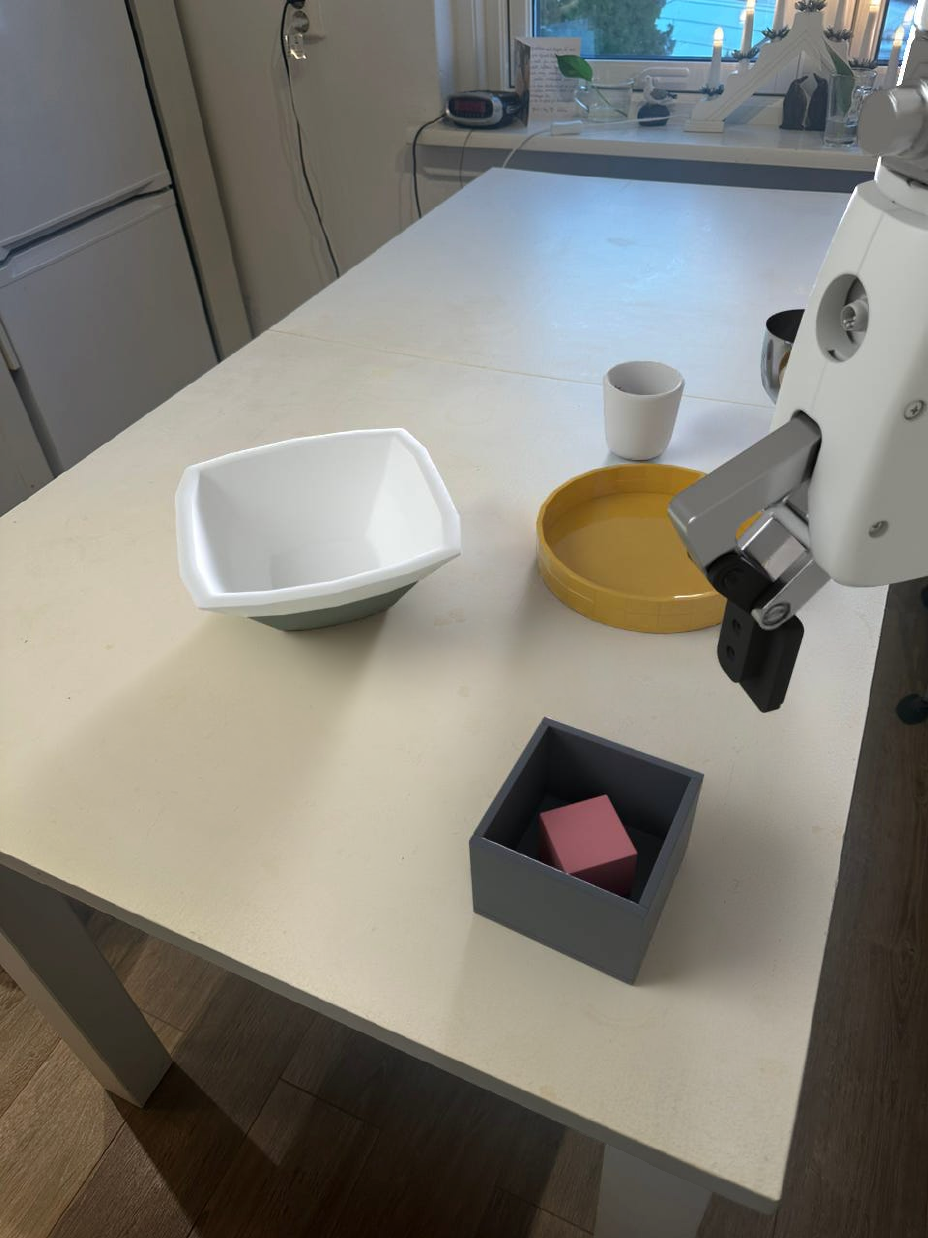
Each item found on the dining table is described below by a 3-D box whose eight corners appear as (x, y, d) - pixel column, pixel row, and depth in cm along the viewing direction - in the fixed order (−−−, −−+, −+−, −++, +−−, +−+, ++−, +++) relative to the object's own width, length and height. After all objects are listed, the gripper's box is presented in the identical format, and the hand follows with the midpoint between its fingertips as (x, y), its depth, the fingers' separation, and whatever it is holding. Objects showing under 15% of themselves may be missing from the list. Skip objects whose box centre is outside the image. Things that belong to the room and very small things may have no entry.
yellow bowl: (696, 477, 87) (700, 446, 85) (811, 601, 73) (821, 568, 70) (506, 518, 83) (506, 487, 81) (588, 657, 69) (591, 625, 67)
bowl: (418, 491, 87) (411, 416, 82) (485, 642, 71) (482, 560, 65) (194, 535, 83) (171, 459, 78) (210, 705, 67) (181, 624, 61)
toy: (602, 835, 56) (606, 793, 53) (631, 893, 53) (638, 853, 50) (537, 854, 55) (539, 813, 52) (563, 914, 52) (566, 874, 49)
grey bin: (541, 789, 60) (544, 715, 55) (687, 847, 56) (704, 773, 51) (473, 912, 53) (467, 841, 48) (632, 987, 49) (645, 918, 44)
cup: (632, 410, 97) (638, 342, 92) (699, 429, 94) (710, 359, 88) (584, 454, 91) (588, 384, 86) (654, 476, 87) (663, 404, 82)
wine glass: (825, 459, 88) (864, 315, 78) (814, 501, 83) (854, 352, 73) (745, 445, 91) (773, 304, 81) (729, 485, 86) (757, 339, 76)
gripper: (832, 224, 16) (702, 794, 27) (1526, 111, 19) (1149, 664, 31) (649, 129, 21) (605, 639, 33) (1214, 54, 24) (993, 542, 36)
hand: (867, 651), depth 32 cm, fingers open, 9 cm apart
